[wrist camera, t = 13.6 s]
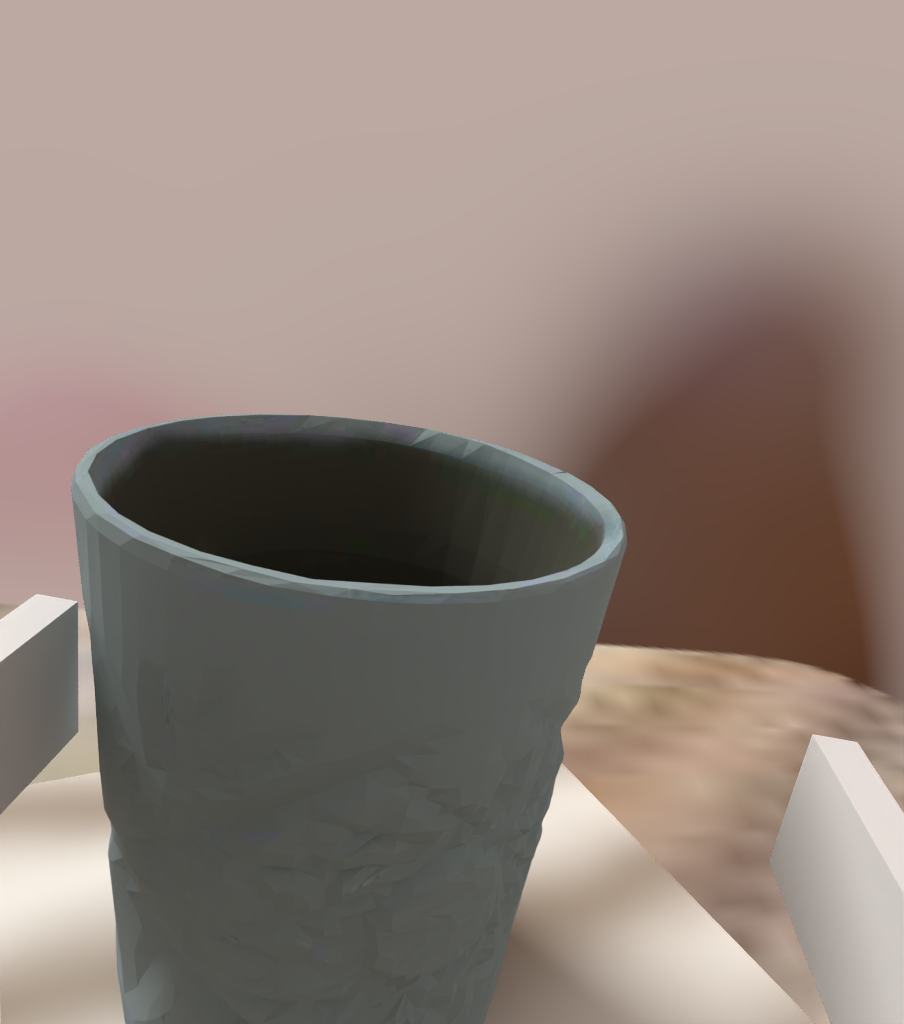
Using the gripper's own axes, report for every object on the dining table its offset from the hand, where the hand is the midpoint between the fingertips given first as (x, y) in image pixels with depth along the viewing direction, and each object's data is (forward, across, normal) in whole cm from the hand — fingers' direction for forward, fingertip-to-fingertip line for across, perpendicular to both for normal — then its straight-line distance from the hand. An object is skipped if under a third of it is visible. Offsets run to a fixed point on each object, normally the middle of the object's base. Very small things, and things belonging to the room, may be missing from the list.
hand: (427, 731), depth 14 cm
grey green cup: (+2, -2, -8) cm, 9 cm away
